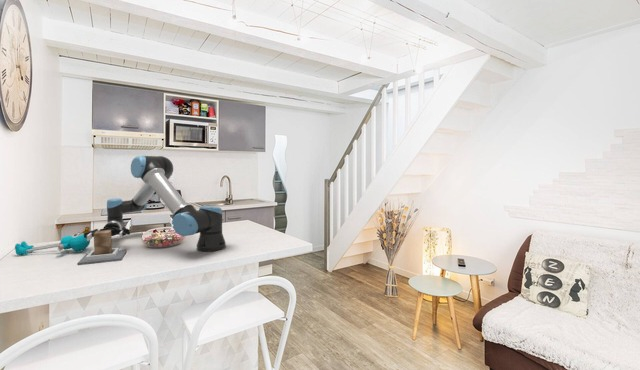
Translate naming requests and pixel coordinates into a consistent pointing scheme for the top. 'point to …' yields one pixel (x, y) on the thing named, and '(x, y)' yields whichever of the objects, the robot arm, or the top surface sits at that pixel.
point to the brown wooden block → (102, 242)
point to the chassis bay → (102, 257)
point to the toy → (57, 244)
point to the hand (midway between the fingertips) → (104, 237)
